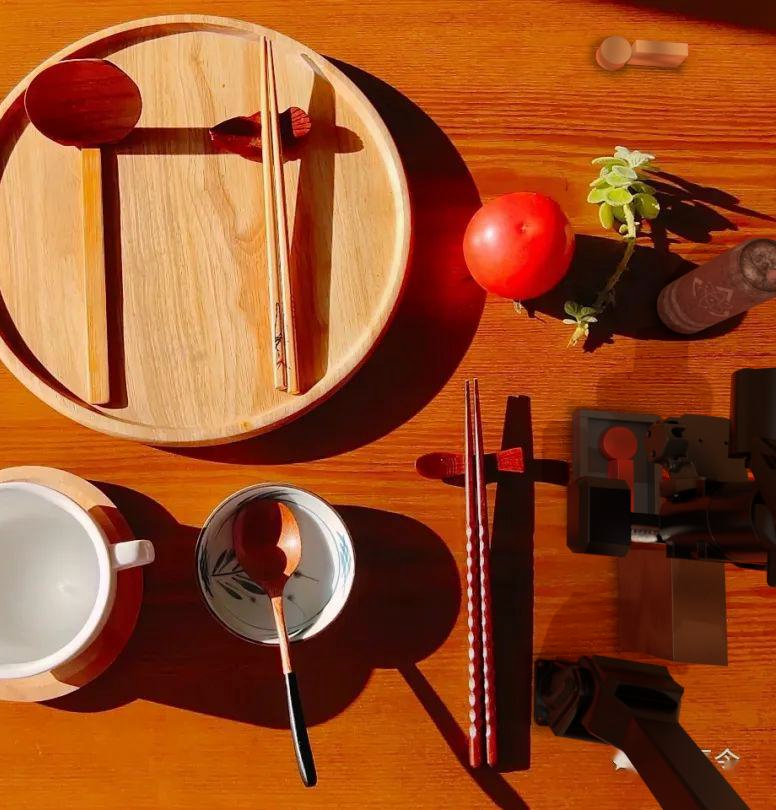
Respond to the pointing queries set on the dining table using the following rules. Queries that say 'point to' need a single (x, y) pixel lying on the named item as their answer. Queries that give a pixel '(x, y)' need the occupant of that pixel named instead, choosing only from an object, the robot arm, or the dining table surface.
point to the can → (720, 287)
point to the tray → (595, 464)
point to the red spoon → (619, 455)
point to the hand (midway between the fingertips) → (633, 527)
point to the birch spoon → (640, 53)
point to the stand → (672, 608)
